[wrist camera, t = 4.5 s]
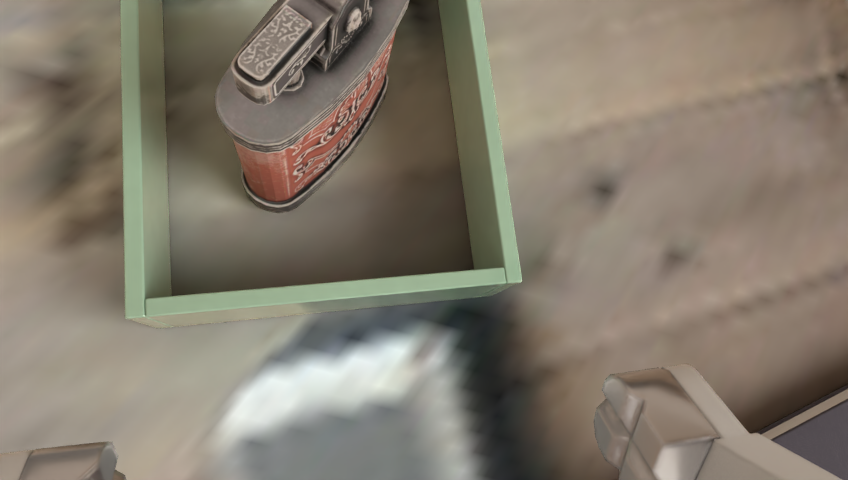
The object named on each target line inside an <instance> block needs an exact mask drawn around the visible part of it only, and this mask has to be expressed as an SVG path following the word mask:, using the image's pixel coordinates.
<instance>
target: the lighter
mask: <svg viewBox="0 0 848 480" xmlns="http://www.w3.org/2000/svg"><path fill="white" fill-rule="evenodd" d="M408 4H409V0H278V1H277V2H276V3H275V4H274V5H273V6H272V7H271V9H270V10H269V11H268V12H267V14H266V15H265V16H264V17H263V19H262V20H261V21H260V22H259V24H258V25H257V26H256V28H255V29H254V30H253V31H252V33H251V34H250V35H249V36H248V38H247V39H246V40H245V41H244V43H243V44H242V46H241V48H240V49H239V51H238V53H237V54H236V56H235V57H234V59H233V60H232V63H231V64H230V66H229V68H228V69H227V71H226V73H225V74H224V76H223V78H222V79H221V81H220V83H219V84H218V88H217V91H216V94H215V104H216V111H217V114H218V116H219V119H220V122H221V123H222V125H223V127H224V129H225V131H226V133H227V134H228V135H229V136H230V137H231V138H232V139H233V141H234V144H235V147H236V150H237V153H238V156H239V159H240V162H241V165H242V170H241V177H242V183H243V186H244V189H245V191H246V193H247V194H248V196H249V198H250V199H251V200H252V201H253V202H254V203H255V204H256V205H257V206H259V207H261V208H263V209H265V210H267V211H271V212H276V213H281V212H288V211H291V210H293V209H294V208H296V207H298V206H299V205H300V204H301V203H303V202H304V201H305V200H306V199H307V198H308V197H310V196H311V195H312V194H313V193H314V192H315V191H317V190H318V189H319V188H320V187H321V186H322V185H324V184H325V183H326V182H327V181H328V180H329V179H330V177H331V176H332V175H333V174H334V173H335V172H336V171H337V170H338V169H339V168H340V167H341V165H342V164H343V163H344V162H345V161H346V160H347V159H348V158H349V157H350V156H351V154H352V153H353V151H354V150H355V148H356V147H357V145H358V144H359V142H360V141H361V139H362V138H363V136H364V135H365V133H366V132H367V130H368V129H369V127H370V126H371V124H372V122H373V120H374V118H375V116H376V114H377V112H378V110H379V108H380V106H381V104H382V102H383V100H384V97H385V93H386V90H387V85H388V81H389V80H388V75H387V71H386V70H387V66H388V61H389V57H390V53H391V49H392V45H393V41H394V36H395V32H396V29H397V27H398V25H399V23H400V21H401V19H402V17H403V15H404V13H405V11H406V9H407V7H408Z"/></svg>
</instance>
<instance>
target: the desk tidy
mask: <svg viewBox="0 0 848 480" xmlns="http://www.w3.org/2000/svg"><path fill="white" fill-rule="evenodd" d="M438 4H439V11H440V19H441V26H442V34H443V41H444V49H445V56H446V64H447V71H448V79H449V86H450V94H451V101H452V108H453V116H454V123H455V131H456V138H457V146H458V153H459V161H460V168H461V176H462V183H463V191H464V198H465V206H466V213H467V221H468V228H469V235H470V243H471V250H472V258H473V265H474V270H464V271H453V272H442V273H430V274H419V275H407V276H396V277H384V278H373V279H362V280H350V281H339V282H327V283H316V284H304V285H293V286H282V287H270V288H259V289H247V290H236V291H225V292H213V293H202V294H190V295H179V296H171V264H170V232H169V200H168V167H167V135H166V103H165V71H164V38H163V6H162V0H120V26H121V91H122V157H123V222H124V288H125V318H126V319H129V320H132V321H135V322H138V323H142V324H145V325H148V326H151V327H154V328H157V329H158V328H169V327H172V326H173V327H179V326H189V325H200V324H210V323H220V322H230V321H241V320H251V319H261V318H272V317H282V316H292V315H302V314H313V313H323V312H333V311H344V310H354V309H364V308H374V307H385V306H395V305H405V304H416V303H426V302H436V301H446V300H457V299H467V298H476V297H488V296H492V295H494V294H496V293H498V292H500V291H503V290H505V289H507V288H509V287H511V286H513V285H516V284H518V283H520V282H522V276H521V269H520V263H519V256H518V249H517V243H516V236H515V229H514V223H513V216H512V209H511V202H510V196H509V189H508V182H507V176H506V169H505V162H504V156H503V149H502V142H501V136H500V129H499V122H498V116H497V109H496V102H495V96H494V89H493V82H492V75H491V69H490V62H489V55H488V49H487V42H486V35H485V29H484V22H483V15H482V9H481V2H480V0H438Z"/></svg>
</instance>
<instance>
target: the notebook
mask: <svg viewBox="0 0 848 480" xmlns="http://www.w3.org/2000/svg"><path fill="white" fill-rule="evenodd" d="M756 433H759V434H760V435H762V436H764V437H766V438H768V439H769V440H771V441H773V442H775V443H777V444H779V445H780V446H782V447H784V448H786V449H788V450H789V451H791V452H793V453H795V454H797V455H799V456H800V457H802V458H804V459H806V460H808V461H809V462H811V463H813V464H815V465H817V466H818V467H820V468H822V469H824V470H826V471H828V472H829V473H831V474H833V475H835V476H837V477H838V478H840V479H842V480H848V384H847V385H845V386H843V387H842V388H840V389H838V390H836V391H834V392H832V393H830V394H828V395H826V396H824V397H822V398H821V399H819V400H817V401H815V402H813V403H811V404H809V405H807V406H805V407H803V408H801V409H800V410H798V411H796V412H794V413H792V414H790V415H788V416H786V417H784V418H782V419H780V420H779V421H777V422H775V423H773V424H771V425H769V426H767V427H765V428H763V429H761V430H759V431H758V432H756Z"/></svg>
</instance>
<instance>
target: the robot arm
mask: <svg viewBox="0 0 848 480" xmlns="http://www.w3.org/2000/svg"><path fill="white" fill-rule="evenodd" d="M602 391H603V393H604V394H605V396H606V398H607V399H605V400H604V401H603V402H602V403H601V404H600V405H599V406H598V407H597V410H596V414H595V418H594V428H595V437H596V440H597V443H598V446H599V448H600V450H601V452H602V454H603V456H604V458H605V460H606V461H607V462H609V463H610V464H612V465H613V466H615V467H616V468H618V469H619V470H620V472H619V478H618V480H842V479H840V478H838V477H837V476H835V475H833V474H831V473H829V472H828V471H826V470H824V469H822V468H820V467H818V466H817V465H815V464H813V463H811V462H809V461H808V460H806V459H804V458H802V457H800V456H799V455H797V454H795V453H793V452H791V451H789V450H788V449H786V448H784V447H782V446H780V445H779V444H777V443H775V442H773V441H771V440H769V439H768V438H766V437H764V436H762V435H760V434H759V433H751V434H749V432H748V431H747V430H746V429H745V428H744V426H743V425H742V424H741V423H740V422H739V420H738V419H737V418H736V417H735V416H734V414H733V413H732V412H731V411H730V409H729V408H728V407H727V406H726V405H725V403H724V402H723V401H722V400H721V399H720V397H719V396H718V395H717V394H716V393H715V391H714V390H713V389H712V388H711V386H710V385H709V384H708V383H707V382H706V380H705V379H704V378H703V377H702V376H701V374H700V373H699V372H698V371H697V370H696V369H695V368H694V367H693V366H691V365H689V364H683V365H676V366H669V367H662V368H652V369H645V370H638V371H631V372H624V373H617V374H610V375H609V376H608V377H607V378H606V379H605V382H604V385H603V388H602ZM117 459H118V455H117V452H116V450H115V447H114V445H113V442H98V443H89V444H79V445H70V446H61V447H51V448H42V449H35V450H27V451H19V452H10V453H1V454H0V480H126V477H125V475H124V474H122V473H120V472H118V471H117V470H115V467H116V463H117Z"/></svg>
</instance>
